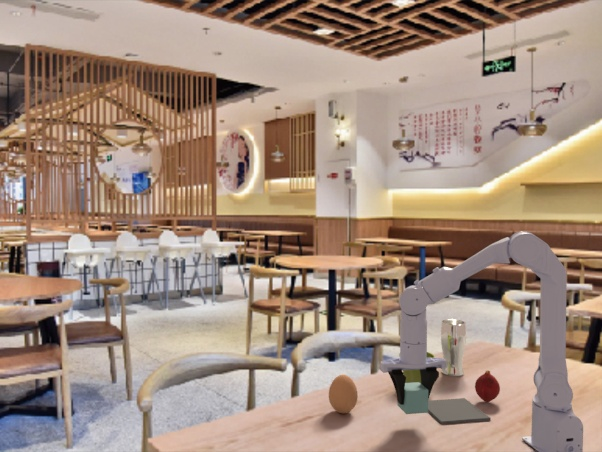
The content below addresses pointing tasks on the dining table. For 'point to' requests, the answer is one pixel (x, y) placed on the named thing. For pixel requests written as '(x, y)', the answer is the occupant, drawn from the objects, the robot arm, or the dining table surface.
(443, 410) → the mat
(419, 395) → the cube
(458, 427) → the dining table surface
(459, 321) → the beer glass
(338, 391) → the egg
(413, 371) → the plant pot
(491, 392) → the onion
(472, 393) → the dining table surface
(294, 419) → the dining table surface
